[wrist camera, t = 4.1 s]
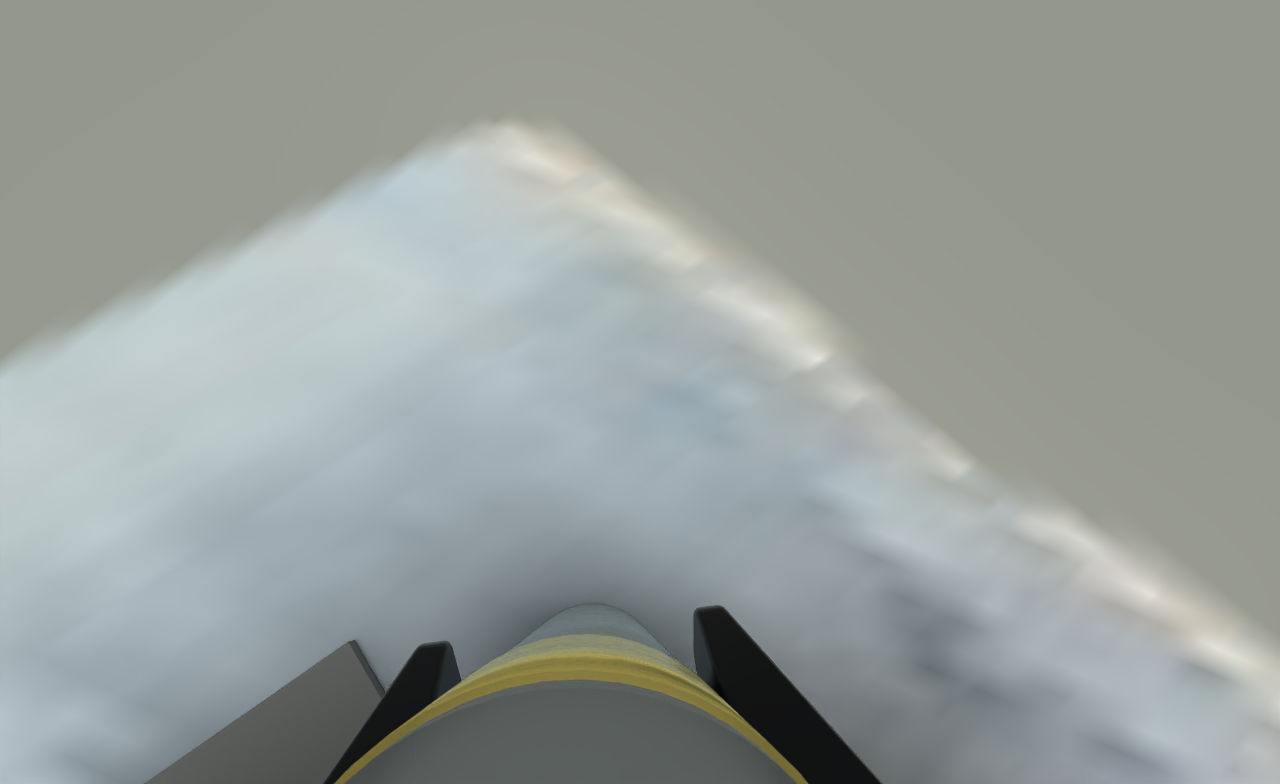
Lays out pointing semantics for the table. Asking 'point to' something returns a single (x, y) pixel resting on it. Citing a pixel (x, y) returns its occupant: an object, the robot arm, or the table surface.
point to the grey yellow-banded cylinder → (577, 718)
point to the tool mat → (289, 729)
